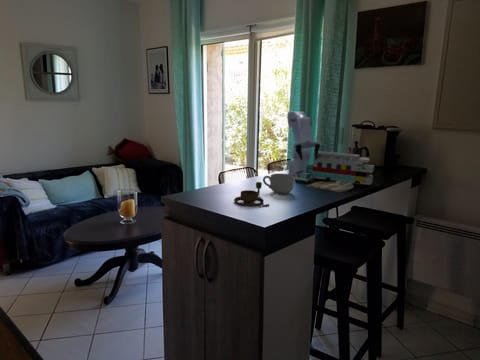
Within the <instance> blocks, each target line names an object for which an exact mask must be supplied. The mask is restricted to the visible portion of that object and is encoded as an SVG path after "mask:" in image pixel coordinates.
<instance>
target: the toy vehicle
mask: <svg viewBox="0 0 480 360" xmlns="http://www.w3.org/2000/svg"><path fill="white" fill-rule="evenodd" d="M360 155H361V154H355V153H354V154H353V153H344V152H331V151H323V150H322V151H321V150H319V151H318V156H317V160H315V152H314V151H313V156H312V170H311V177H313V179H320V180H325V181H324V182H336V181H340V182H346V183H353V184H354V186H357V187H361V185H366V186H367V185H369V186H371V184H373V178H374V176H373V175H374V174H371V173H373V172H374V170H375V165H374V164H373V165H372V164H371V165H370V164H364V163H369V162H370V157H361V156H360ZM369 173H370V174H369Z"/></svg>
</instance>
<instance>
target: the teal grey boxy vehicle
mask: <svg viewBox="0 0 480 360" xmlns="http://www.w3.org/2000/svg"><path fill="white" fill-rule="evenodd" d="M302 172H303V171H298V172H295V175H294V182H295V183H299V181H303V184H305V185H308V183H312V182H313V179H314V178H313V177H312V172H307V171H306V172H303V173H302Z"/></svg>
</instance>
